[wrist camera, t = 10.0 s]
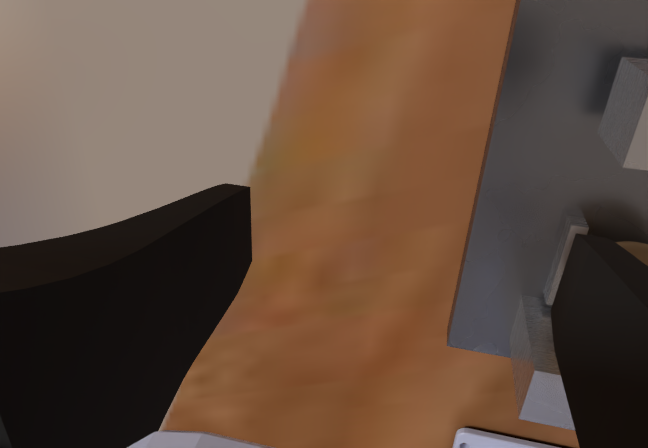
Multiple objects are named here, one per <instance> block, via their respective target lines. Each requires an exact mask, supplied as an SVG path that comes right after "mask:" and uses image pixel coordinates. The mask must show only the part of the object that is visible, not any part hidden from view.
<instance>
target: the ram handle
mask: <svg viewBox="0 0 648 448" xmlns="http://www.w3.org/2000/svg"><path fill="white" fill-rule="evenodd" d="M598 134H599V136H600V137H601V138H602V140H603V141H604V143H605V144H606V145H607V147H608V148H609V149H610V151H611V152H612V154H613V155H614V156H615V158H616V159H617V160H618V162H619V163H620V165H621V166H622V167H623V168H631V169H639V170H648V59H643V58H632V57H621V60H620V63H619V67H618V70H617V73H616V76H615V79H614V82H613V86H612V89H611V92H610V95H609V98H608V101H607V104H606V108H605V111H604V114H603V117H602V120H601V123H600V127H599V130H598Z"/></svg>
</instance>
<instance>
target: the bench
mask: <svg viewBox="0 0 648 448" xmlns="http://www.w3.org/2000/svg"><path fill="white" fill-rule="evenodd" d="M621 57H632V58H643V59H648V0H516V4H515V9H514V14H513V18H512V23H511V28H510V33H509V38H508V42H507V47H506V52H505V57H504V61H503V66H502V71H501V76H500V81H499V85H498V90H497V95H496V100H495V104H494V109H493V114H492V119H491V124H490V128H489V133H488V138H487V143H486V147H485V152H484V157H483V162H482V167H481V171H480V176H479V181H478V186H477V190H476V195H475V200H474V205H473V210H472V214H471V219H470V224H469V229H468V233H467V238H466V243H465V248H464V252H463V257H462V262H461V267H460V272H459V276H458V281H457V286H456V291H455V295H454V300H453V305H452V310H451V315H450V319H449V324H448V329H447V346H450V347H455V348H461V349H466V350H471V351H477V352H482V353H488V354H493V355H498V356H504V357H509V358H511V362H512V370H513V378H514V386H515V393H516V401H517V409H518V417H519V419H522V420H527V421H532V422H537V423H541V424H546V425H551V426H556V427H561V428H566V429H571V430H575V427H574V423H573V420H572V416H571V412H570V408H569V405H568V401H567V397H566V393H565V390H564V386H563V382H562V378H561V374H560V371H559V367H558V363H557V359H556V355H555V351H554V342H553V334H552V323H551V308H552V305H553V301H554V298H555V295H556V292H557V289H558V286H559V283H560V280H561V277H562V274H563V271H564V268H565V265H566V262H567V259H568V256H569V253H570V250H571V247H572V244H573V240H574V237H575V234H576V233H578V234H585V235H592V236H599V237H606V238H609V239H610V240H612V241H614V242H621V241H633V242H640V243H645V244H648V170H639V169H631V168H623V167H622V166H621V165H620V163H619V162H618V160H617V159H616V158H615V156H614V155H613V154H612V152H611V151H610V149H609V148H608V147H607V145H606V144H605V143H604V141H603V140H602V138H601V137H600V136H599V134H598V130H599V127H600V123H601V120H602V117H603V114H604V111H605V108H606V104H607V101H608V98H609V95H610V92H611V89H612V86H613V82H614V79H615V76H616V73H617V70H618V67H619V63H620V60H621Z"/></svg>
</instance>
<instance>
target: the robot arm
mask: <svg viewBox="0 0 648 448" xmlns="http://www.w3.org/2000/svg"><path fill="white" fill-rule="evenodd" d="M251 262H252V241H251V204H250V187H247V186H240V185H233V184H222V185H217V186H214V187H211V188H208V189H206V190H203V191H200V192H198V193H195V194H193V195H190V196H188V197H185V198H183V199H180V200H178V201H175V202H173V203H170V204H168V205H165V206H162V207H160V208H157V209H155V210H152V211H149V212H146V213H143V214H140V215H137V216H135V217H132V218H129V219H126V220H123V221H120V222H117V223H114V224H111V225H108V226H104V227H100V228H97V229H93V230H89V231H85V232H81V233H77V234H73V235H69V236H65V237H59V238H54V239H48V240H43V241H38V242H33V243H27V244H22V245H15V246H8V247H1V248H0V448H274V447H270V446H266V445H261V444H257V443H253V442H248V441H244V440H240V439H236V438H231V437H227V436H223V435H218V434H214V433H210V432H196V431H170V430H164V431H158V430H159V428H160V426H161V424H162V421H163V419H164V417H165V415H166V413H167V411H168V409H169V407H170V405H171V403H172V401H173V399H174V397H175V395H176V393H177V391H178V389H179V387H180V385H181V383H182V381H183V379H184V377H185V375H186V374H187V372H188V370H189V369H190V367H191V365H192V363H193V362H194V360H195V359H196V357H197V356H198V354H199V353H200V351H201V349H202V348H203V346H204V345H205V343H206V342H207V340H208V339H209V337H210V336H211V334H212V333H213V331H214V329H215V328H216V326H217V325H218V323H219V322H220V320H221V319H222V317H223V316H224V314H225V312H226V311H227V309H228V308H229V306H230V305H231V303H232V301H233V300H234V298H235V297H236V295H237V293H238V291H239V289H240V287H241V285H242V283H243V280H244V278H245V276H246V274H247V271H248V269H249V267H250V264H251ZM551 323H552V334H553V342H554V351H555V355H556V359H557V363H558V367H559V371H560V374H561V378H562V382H563V386H564V390H565V393H566V397H567V401H568V405H569V408H570V412H571V416H572V420H573V423H574V427H575V431H576V435H577V438H578V442H579V447H580V448H648V266H647V265H646V264H644V263H643V262H642V261H640V260H639V259H638V258H636V257H635V256H634V255H632V254H631V253H630V252H628V251H627V250H626V249H624V248H623V247H621V246H620V245H618V244H617V243H615V242H614V241H612V240H610V239H609V238H606V237H599V236H592V235H585V234H578V233H576V234H575V237H574V240H573V244H572V247H571V250H570V253H569V256H568V259H567V262H566V265H565V268H564V271H563V274H562V277H561V280H560V283H559V286H558V289H557V292H556V295H555V298H554V301H553V305H552V308H551ZM463 443H466V444H463ZM453 448H560V447H555V446H551V445H546V444H541V443H536V442H532V441H527V440H522V439H517V438H513V437H508V436H503V435H498V434H494V433H489V432H484V431H479V430H475V429H470V428H461V429H459V430H458V431H457V432H456V436H455V440H454V444H453Z"/></svg>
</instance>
